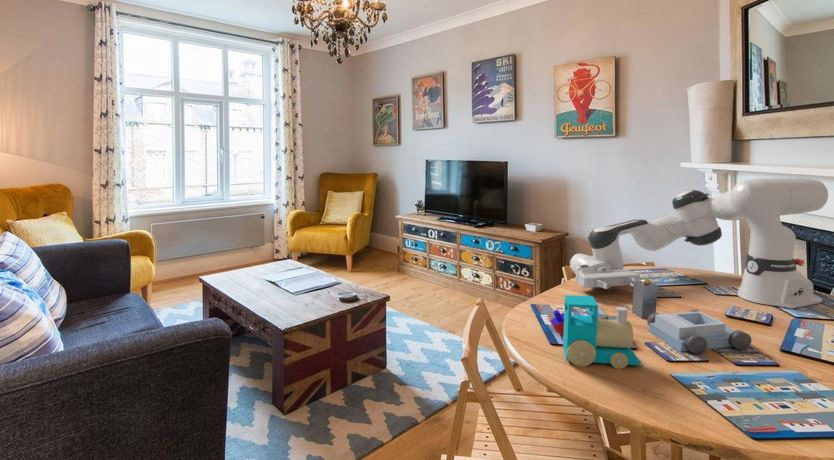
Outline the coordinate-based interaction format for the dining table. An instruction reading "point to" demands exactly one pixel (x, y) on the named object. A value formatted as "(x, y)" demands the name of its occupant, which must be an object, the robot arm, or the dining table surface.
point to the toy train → (597, 335)
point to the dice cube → (606, 317)
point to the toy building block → (558, 322)
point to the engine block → (644, 298)
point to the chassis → (696, 332)
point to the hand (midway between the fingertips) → (621, 285)
